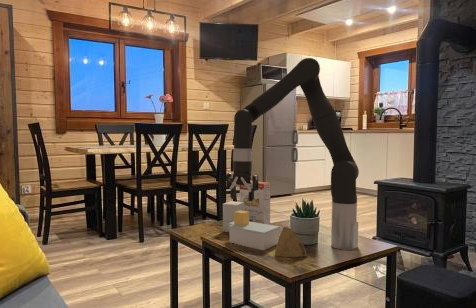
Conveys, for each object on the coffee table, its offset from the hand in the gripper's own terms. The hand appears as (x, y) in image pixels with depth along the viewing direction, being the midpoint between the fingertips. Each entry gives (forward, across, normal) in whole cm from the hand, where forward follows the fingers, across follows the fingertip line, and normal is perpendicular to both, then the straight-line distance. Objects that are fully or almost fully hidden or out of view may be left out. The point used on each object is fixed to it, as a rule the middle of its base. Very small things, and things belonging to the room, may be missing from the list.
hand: (241, 200), depth 151 cm
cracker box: (+17, +10, -25) cm, 32 cm away
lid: (+12, -5, 0) cm, 13 cm away
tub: (+16, -6, 0) cm, 18 cm away
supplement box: (+17, +12, -11) cm, 23 cm away
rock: (+17, -25, +5) cm, 31 cm away
